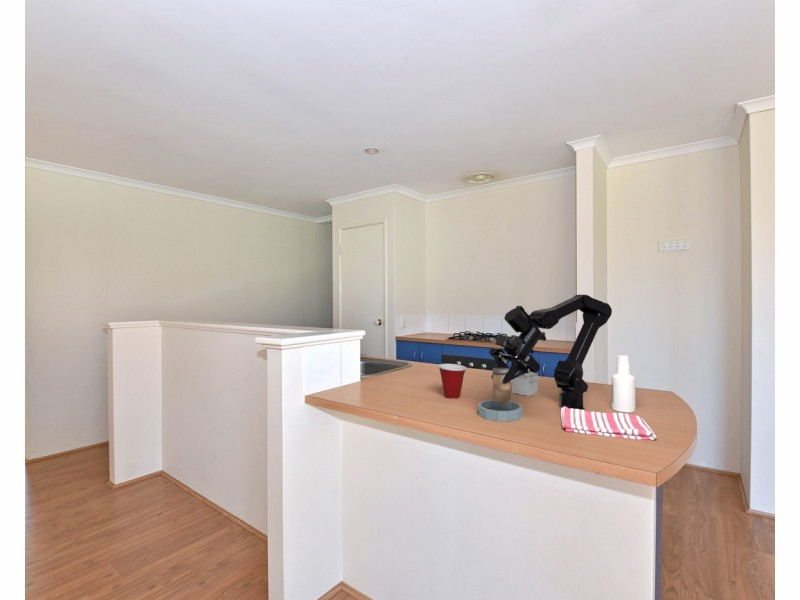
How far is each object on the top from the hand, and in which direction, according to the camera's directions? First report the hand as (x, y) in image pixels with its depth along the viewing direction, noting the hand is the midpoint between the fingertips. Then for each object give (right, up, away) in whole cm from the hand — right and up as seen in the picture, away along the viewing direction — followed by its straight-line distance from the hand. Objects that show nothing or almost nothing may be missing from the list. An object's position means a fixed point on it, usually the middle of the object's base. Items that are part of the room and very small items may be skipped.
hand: (497, 380), depth 121 cm
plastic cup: (-10, -12, +29) cm, 33 cm away
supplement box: (+19, -12, +32) cm, 39 cm away
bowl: (+2, -12, +6) cm, 14 cm away
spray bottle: (+44, -12, +9) cm, 46 cm away
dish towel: (+30, -13, -6) cm, 33 cm away
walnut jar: (+1, -7, +1) cm, 7 cm away
